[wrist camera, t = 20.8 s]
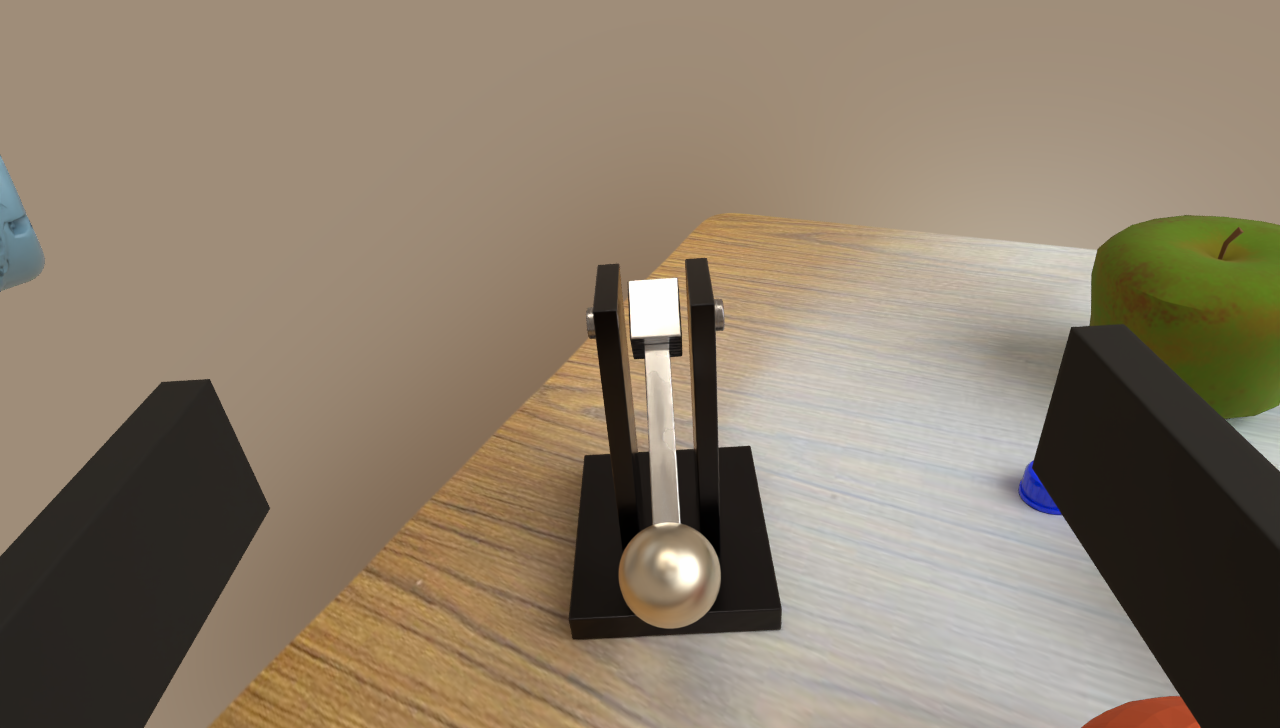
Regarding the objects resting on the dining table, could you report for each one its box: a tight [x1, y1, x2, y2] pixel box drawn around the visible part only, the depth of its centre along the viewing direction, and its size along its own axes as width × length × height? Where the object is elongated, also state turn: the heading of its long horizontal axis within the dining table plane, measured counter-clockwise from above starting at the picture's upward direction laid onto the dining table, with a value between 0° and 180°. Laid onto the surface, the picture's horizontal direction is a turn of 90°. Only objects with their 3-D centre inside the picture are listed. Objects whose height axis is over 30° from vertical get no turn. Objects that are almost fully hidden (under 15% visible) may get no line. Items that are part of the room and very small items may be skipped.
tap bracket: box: [569, 258, 782, 639], centre depth 37 cm, size 12×10×16 cm
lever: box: [619, 278, 721, 629], centre depth 31 cm, size 14×4×4 cm
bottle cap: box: [1018, 460, 1061, 515], centre depth 42 cm, size 3×3×2 cm
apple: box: [1090, 215, 1280, 419], centre depth 46 cm, size 12×12×11 cm
